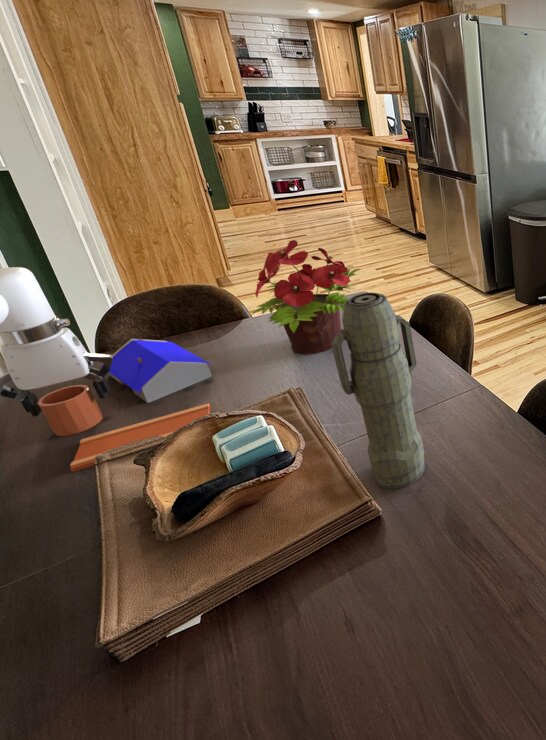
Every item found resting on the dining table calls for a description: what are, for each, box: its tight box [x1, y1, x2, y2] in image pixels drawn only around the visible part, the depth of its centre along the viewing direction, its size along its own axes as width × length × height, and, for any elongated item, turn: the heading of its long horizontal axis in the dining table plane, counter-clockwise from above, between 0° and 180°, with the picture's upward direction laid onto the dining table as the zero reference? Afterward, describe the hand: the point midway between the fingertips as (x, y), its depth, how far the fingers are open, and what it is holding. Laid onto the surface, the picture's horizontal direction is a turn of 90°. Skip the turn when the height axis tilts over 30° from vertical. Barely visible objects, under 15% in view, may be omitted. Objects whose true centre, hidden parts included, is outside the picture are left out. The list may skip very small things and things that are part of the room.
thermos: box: [331, 292, 426, 490], centre depth 80 cm, size 9×12×35 cm
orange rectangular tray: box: [69, 402, 211, 473], centre depth 96 cm, size 20×10×1 cm, turn 126°
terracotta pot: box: [37, 384, 104, 437], centre depth 97 cm, size 7×7×8 cm
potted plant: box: [250, 239, 363, 355], centre depth 124 cm, size 30×27×30 cm
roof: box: [100, 338, 213, 404], centre depth 114 cm, size 22×14×7 cm, turn 60°
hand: (72, 403), depth 97 cm, fingers open, 9 cm apart
